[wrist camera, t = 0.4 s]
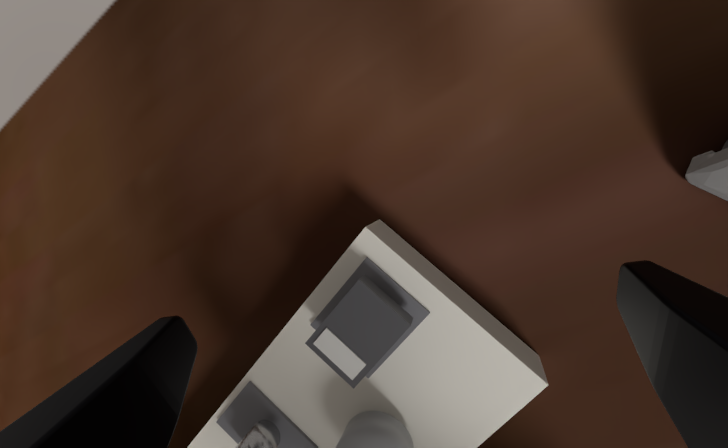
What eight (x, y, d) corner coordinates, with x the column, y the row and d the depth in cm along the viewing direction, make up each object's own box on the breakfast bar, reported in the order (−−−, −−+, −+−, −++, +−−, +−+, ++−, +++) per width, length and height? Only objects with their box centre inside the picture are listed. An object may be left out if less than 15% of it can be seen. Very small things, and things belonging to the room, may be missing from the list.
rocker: (413, 317, 19) (410, 325, 17) (359, 377, 19) (353, 389, 18) (364, 274, 19) (358, 279, 18) (313, 334, 20) (304, 343, 18)
